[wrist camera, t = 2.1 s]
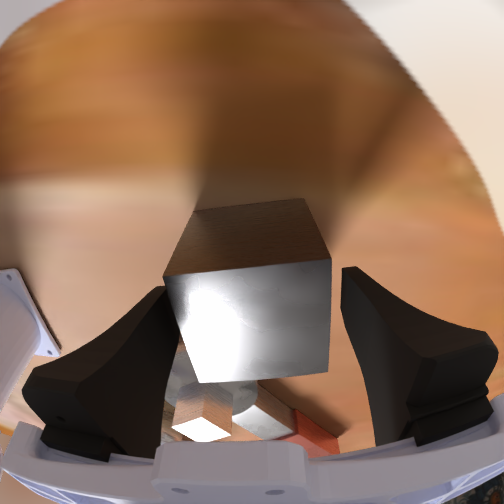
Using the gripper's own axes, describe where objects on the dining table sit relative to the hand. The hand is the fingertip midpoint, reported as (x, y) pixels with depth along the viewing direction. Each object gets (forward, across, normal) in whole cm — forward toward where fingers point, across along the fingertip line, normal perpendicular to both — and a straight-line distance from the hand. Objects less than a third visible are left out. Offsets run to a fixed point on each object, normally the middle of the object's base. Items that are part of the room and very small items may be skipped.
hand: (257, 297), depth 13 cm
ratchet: (+4, +1, +14) cm, 14 cm away
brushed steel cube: (+4, 0, 0) cm, 4 cm away
